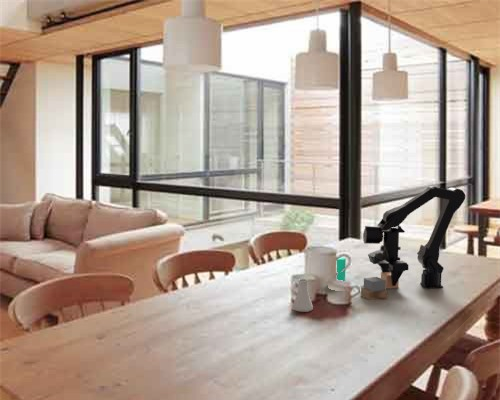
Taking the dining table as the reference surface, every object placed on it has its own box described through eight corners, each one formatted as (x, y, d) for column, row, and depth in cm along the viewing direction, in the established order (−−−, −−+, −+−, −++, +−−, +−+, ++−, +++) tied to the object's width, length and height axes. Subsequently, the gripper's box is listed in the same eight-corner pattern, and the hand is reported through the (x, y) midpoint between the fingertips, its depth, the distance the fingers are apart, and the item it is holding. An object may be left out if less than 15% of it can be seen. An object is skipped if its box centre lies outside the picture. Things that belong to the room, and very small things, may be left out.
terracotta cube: (392, 284, 213) (393, 271, 213) (398, 287, 208) (398, 275, 208) (380, 284, 212) (381, 272, 212) (386, 288, 207) (386, 275, 207)
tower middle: (376, 286, 198) (376, 276, 198) (385, 290, 193) (385, 280, 193) (363, 287, 196) (363, 278, 196) (372, 291, 191) (372, 281, 191)
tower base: (378, 294, 200) (379, 285, 199) (387, 300, 193) (387, 290, 192) (360, 295, 198) (361, 286, 198) (368, 301, 192) (368, 291, 191)
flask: (288, 310, 180) (288, 281, 179) (296, 304, 186) (297, 276, 185) (308, 313, 177) (309, 283, 176) (316, 307, 183) (317, 278, 182)
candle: (346, 286, 210) (347, 255, 208) (330, 286, 210) (331, 255, 208) (343, 282, 216) (344, 252, 214) (328, 282, 216) (329, 252, 214)
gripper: (361, 239, 216) (360, 278, 218) (381, 249, 198) (380, 291, 200) (387, 239, 218) (386, 277, 220) (409, 248, 200) (408, 289, 202)
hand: (389, 283), depth 210 cm, fingers open, 7 cm apart
